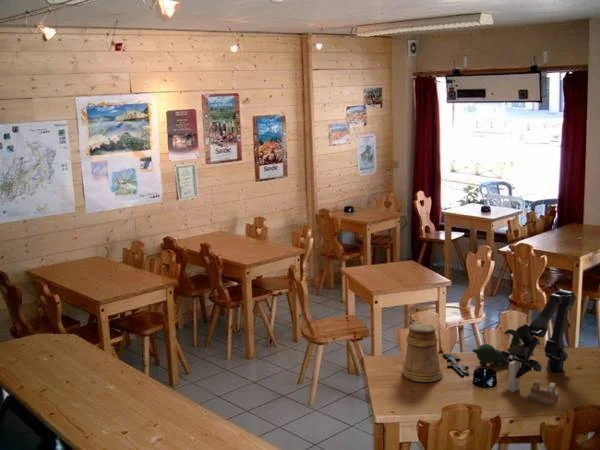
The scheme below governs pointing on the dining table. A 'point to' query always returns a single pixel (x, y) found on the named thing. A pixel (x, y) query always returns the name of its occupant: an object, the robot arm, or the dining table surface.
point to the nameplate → (456, 365)
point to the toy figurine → (495, 351)
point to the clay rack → (542, 393)
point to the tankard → (422, 353)
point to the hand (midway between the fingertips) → (512, 376)
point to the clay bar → (513, 376)
